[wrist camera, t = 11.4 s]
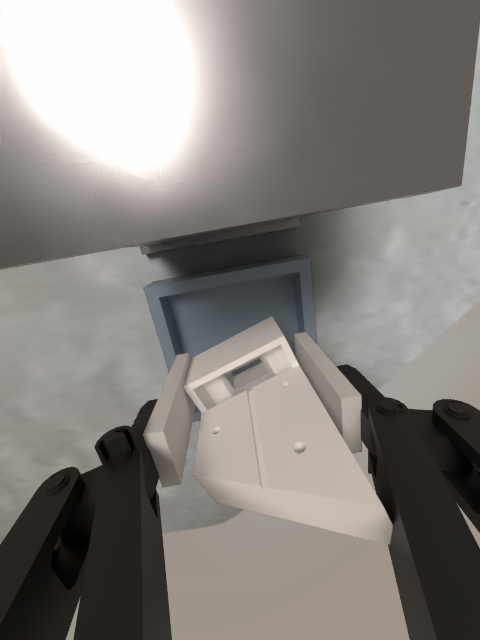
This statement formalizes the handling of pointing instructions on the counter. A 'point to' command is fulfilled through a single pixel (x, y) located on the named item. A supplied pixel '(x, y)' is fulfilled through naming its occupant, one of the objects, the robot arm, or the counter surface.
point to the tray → (231, 306)
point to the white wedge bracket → (276, 439)
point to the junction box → (221, 116)
